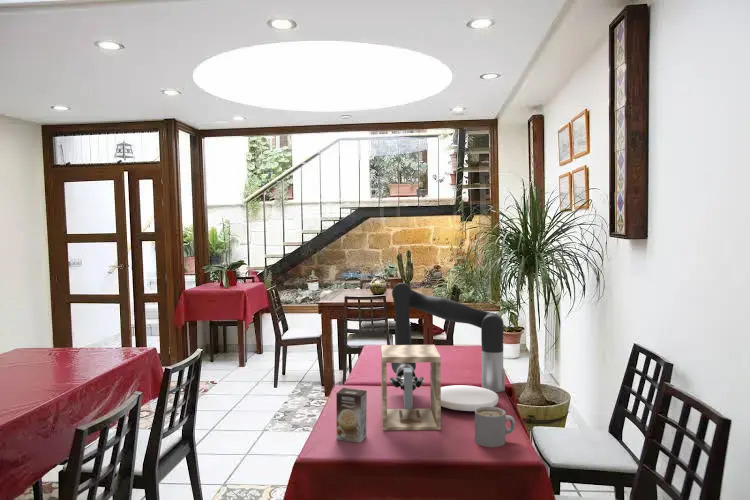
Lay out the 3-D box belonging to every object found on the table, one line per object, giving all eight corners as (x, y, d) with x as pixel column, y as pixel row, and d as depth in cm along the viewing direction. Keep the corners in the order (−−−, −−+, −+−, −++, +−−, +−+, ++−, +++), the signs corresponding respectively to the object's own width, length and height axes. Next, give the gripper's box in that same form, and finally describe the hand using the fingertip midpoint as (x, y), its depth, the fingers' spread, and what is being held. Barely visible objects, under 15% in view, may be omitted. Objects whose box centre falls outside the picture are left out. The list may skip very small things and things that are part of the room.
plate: (429, 382, 227) (491, 383, 227) (429, 398, 227) (491, 398, 226) (435, 396, 199) (505, 396, 199) (435, 414, 199) (506, 414, 198)
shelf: (434, 411, 205) (434, 344, 204) (440, 429, 186) (440, 356, 185) (381, 411, 205) (381, 345, 204) (382, 430, 186) (382, 357, 185)
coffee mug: (476, 446, 172) (476, 416, 171) (473, 434, 182) (473, 406, 181) (518, 447, 170) (518, 417, 170) (513, 435, 180) (513, 407, 180)
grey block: (411, 403, 204) (411, 367, 203) (412, 409, 198) (412, 372, 197) (403, 403, 204) (403, 367, 203) (404, 409, 198) (404, 372, 197)
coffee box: (335, 439, 178) (334, 392, 178) (342, 432, 184) (342, 387, 184) (360, 443, 175) (360, 395, 175) (367, 436, 181) (367, 389, 181)
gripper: (388, 366, 215) (389, 378, 198) (423, 365, 215) (427, 377, 198) (388, 384, 215) (389, 397, 198) (423, 383, 215) (427, 397, 198)
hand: (408, 387), depth 198 cm, fingers closed on grey block, 3 cm apart
